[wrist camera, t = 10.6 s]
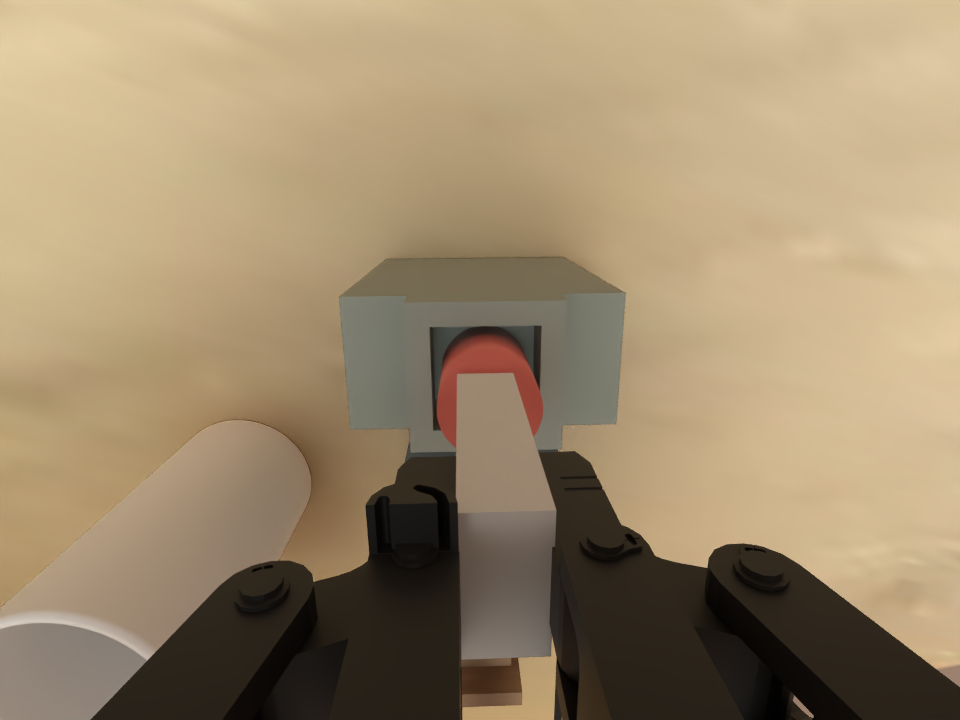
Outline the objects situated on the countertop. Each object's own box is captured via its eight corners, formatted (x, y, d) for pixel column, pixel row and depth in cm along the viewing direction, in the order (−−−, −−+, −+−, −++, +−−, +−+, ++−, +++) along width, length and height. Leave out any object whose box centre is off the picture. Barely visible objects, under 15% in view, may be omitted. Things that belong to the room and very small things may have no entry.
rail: (444, 643, 38) (441, 707, 33) (434, 360, 32) (429, 389, 27) (514, 641, 38) (521, 704, 33) (517, 359, 32) (527, 387, 27)
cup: (329, 449, 33) (216, 663, 18) (287, 552, 35) (153, 823, 20) (199, 399, 32) (-42, 584, 17) (163, 509, 34) (-81, 764, 19)
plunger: (443, 407, 19) (438, 460, 15) (440, 326, 18) (434, 360, 15) (526, 406, 19) (541, 457, 15) (527, 325, 18) (544, 358, 15)
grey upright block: (391, 346, 31) (340, 454, 18) (386, 257, 30) (326, 303, 17) (573, 343, 32) (653, 447, 19) (577, 255, 30) (667, 299, 17)
